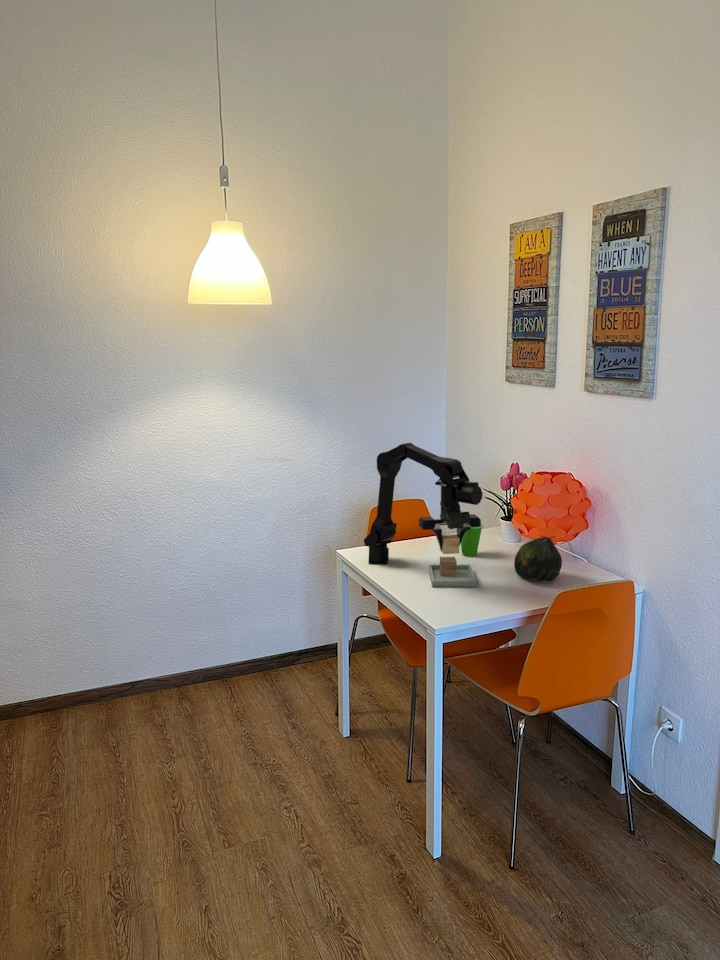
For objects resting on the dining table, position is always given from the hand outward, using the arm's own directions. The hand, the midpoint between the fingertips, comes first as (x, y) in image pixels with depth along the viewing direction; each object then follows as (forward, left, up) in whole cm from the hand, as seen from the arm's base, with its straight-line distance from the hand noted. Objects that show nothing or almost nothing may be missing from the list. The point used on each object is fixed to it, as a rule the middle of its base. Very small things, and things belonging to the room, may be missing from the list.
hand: (449, 548), depth 220 cm
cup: (+10, +29, -12) cm, 33 cm away
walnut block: (0, +7, -11) cm, 13 cm away
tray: (+1, +4, -12) cm, 12 cm away
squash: (+29, +5, -12) cm, 32 cm away
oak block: (0, 0, -1) cm, 1 cm away
